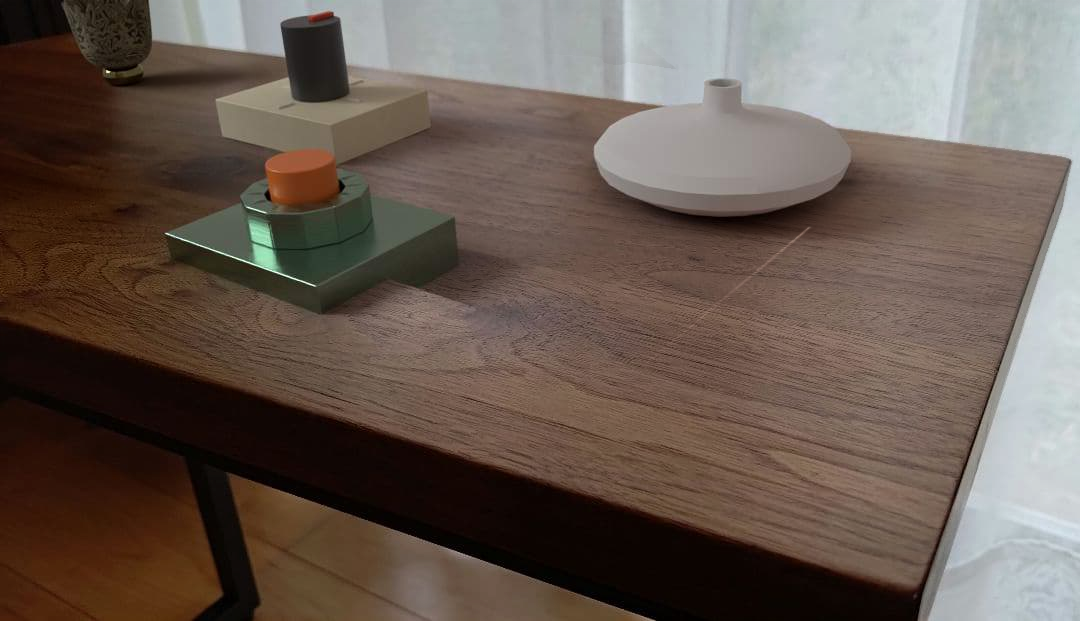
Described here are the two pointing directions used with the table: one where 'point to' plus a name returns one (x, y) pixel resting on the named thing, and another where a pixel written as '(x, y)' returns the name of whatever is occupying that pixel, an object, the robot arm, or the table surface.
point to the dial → (315, 57)
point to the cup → (112, 36)
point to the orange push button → (302, 177)
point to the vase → (722, 155)
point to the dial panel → (325, 118)
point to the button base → (319, 244)
